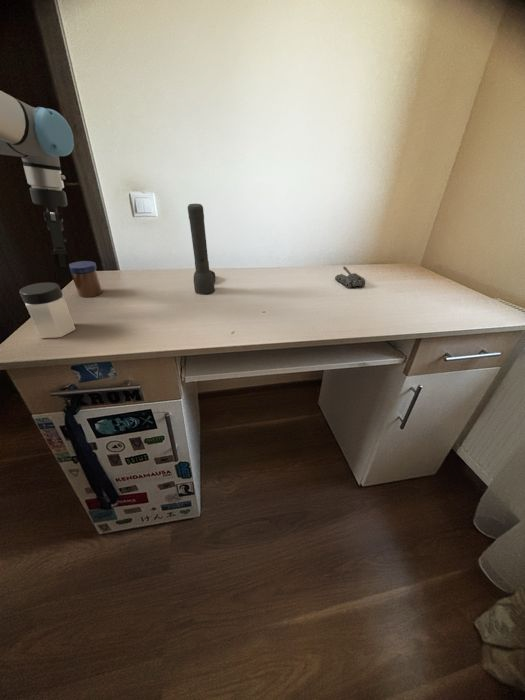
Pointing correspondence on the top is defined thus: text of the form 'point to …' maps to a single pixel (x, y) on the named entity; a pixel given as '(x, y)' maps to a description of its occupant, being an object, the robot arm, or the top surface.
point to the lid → (82, 267)
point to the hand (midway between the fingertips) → (64, 271)
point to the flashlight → (200, 251)
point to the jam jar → (87, 284)
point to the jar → (47, 309)
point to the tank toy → (350, 279)
